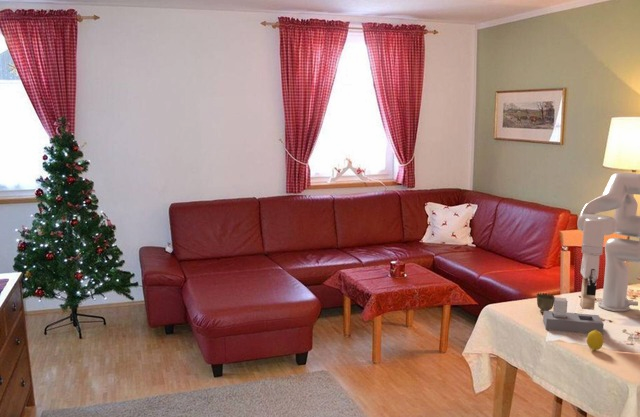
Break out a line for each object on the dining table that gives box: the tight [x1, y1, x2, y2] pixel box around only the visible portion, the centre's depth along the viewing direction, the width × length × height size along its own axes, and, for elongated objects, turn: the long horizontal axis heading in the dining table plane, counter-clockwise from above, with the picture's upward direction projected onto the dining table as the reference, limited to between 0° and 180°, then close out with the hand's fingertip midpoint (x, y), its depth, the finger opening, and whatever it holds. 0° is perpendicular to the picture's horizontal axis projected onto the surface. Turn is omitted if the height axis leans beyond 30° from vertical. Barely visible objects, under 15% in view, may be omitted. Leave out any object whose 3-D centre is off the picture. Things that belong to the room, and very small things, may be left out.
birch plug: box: [579, 277, 598, 311], centre depth 233 cm, size 4×4×12 cm
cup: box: [536, 292, 555, 314], centre depth 255 cm, size 8×7×8 cm
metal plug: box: [552, 296, 568, 319], centre depth 237 cm, size 4×4×12 cm
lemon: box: [586, 330, 604, 352], centre depth 215 cm, size 6×6×8 cm
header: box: [542, 310, 604, 336], centre depth 237 cm, size 21×10×5 cm, turn 76°
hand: (588, 291), depth 233 cm, fingers open, 9 cm apart
